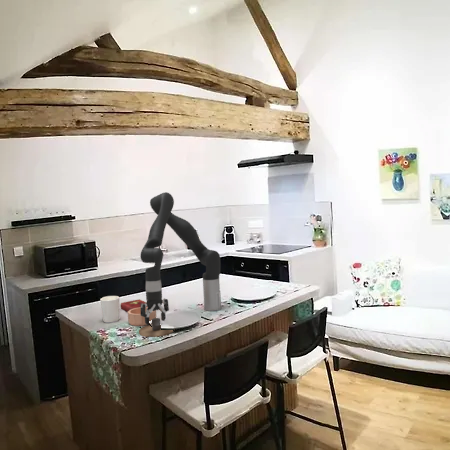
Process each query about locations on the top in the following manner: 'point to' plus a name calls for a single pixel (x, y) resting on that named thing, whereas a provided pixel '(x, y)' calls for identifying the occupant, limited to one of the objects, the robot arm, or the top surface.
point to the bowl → (139, 317)
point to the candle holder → (110, 308)
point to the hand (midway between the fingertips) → (155, 322)
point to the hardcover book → (131, 304)
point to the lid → (154, 329)
